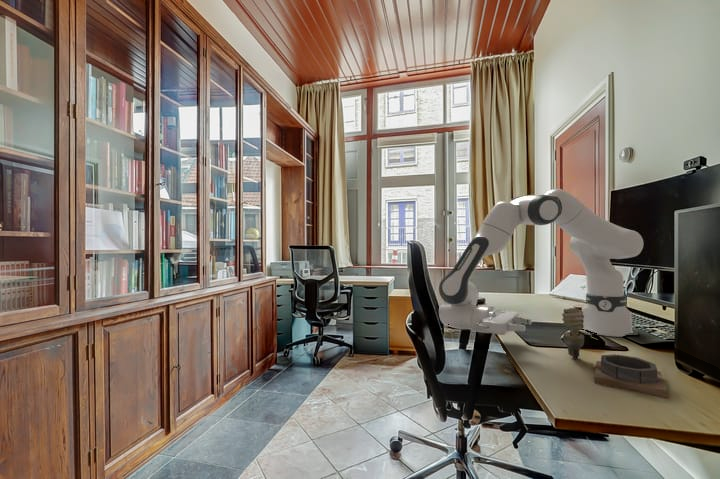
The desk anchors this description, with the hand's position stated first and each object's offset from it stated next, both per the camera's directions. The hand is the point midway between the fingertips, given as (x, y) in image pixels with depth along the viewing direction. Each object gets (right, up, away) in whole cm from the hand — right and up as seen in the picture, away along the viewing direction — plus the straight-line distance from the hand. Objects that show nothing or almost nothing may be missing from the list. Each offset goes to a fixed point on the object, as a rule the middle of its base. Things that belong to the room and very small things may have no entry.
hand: (528, 325), depth 102 cm
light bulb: (+10, -8, -8) cm, 15 cm away
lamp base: (+13, -8, -23) cm, 27 cm away
